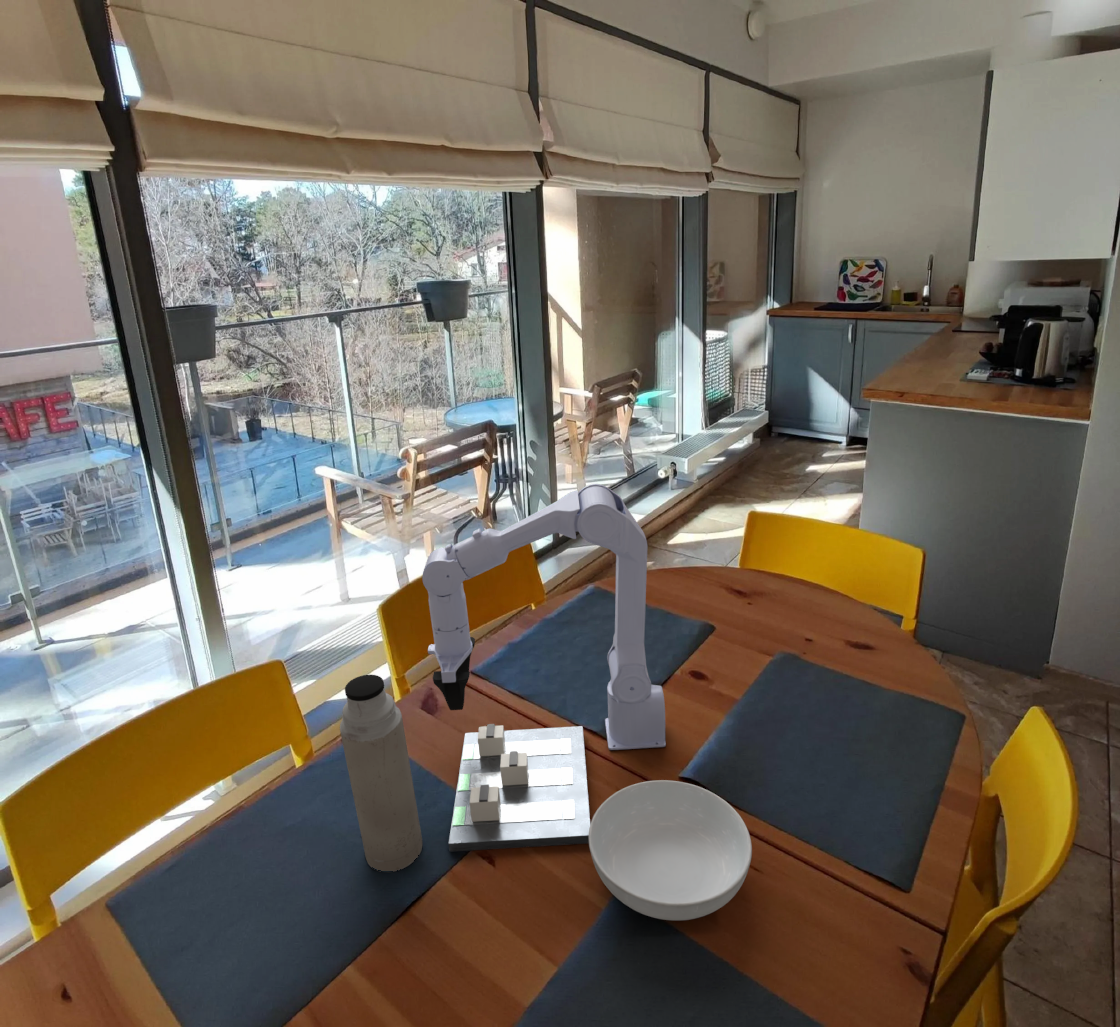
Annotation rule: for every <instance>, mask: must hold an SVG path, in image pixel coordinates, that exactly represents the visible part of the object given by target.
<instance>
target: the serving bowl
mask: <svg viewBox="0 0 1120 1027" xmlns="http://www.w3.org/2000/svg"><path fill="white" fill-rule="evenodd" d="M588 847H589V851H590V855H591V860H592V863H593V866H594V868H595V870H596V872H597V874H598V876H599V878H600V879H601V882H602V883H603V884H604V886H606V888H607V889H608V890H609V892H610V893H611V894H612V895H613V896H614V897H615V898H616V899H617V900H619V902H621V903H622V904H624V905H625V906H627V908H628V907H629V908H630V909H632V910H633V911H635V912H637V913H639V914H642V915H644V916H648V917H649V918H650V917H651V918H654V919H658V920H664V921H665V920H666V921H689V920H690V921H691V920H695V919H700V918H702V917H705V916H708V915H710V914H712V913H714V912H716V911H718V910H720V908H721V909H722V908H723V907H724V906H725V905H726V904H728V903H729V902H730V901H731V900H732V899H733V898H734V897H735V896H736V895H737V893H738V891H740V889H741V887H742V886H743V883H744V882H745V879H746V877H747V875H748V872H749V869H750V865H751V861H752V855H753V846H752V840H751V835H750V832H749V830H748V828H747V825H746V823H745V822H744V820H743V818H742V817H741V815H740V814H739V812H738V811H736V809H735V807H733V806H732V805H731V804H730V803H728V802H727V801H726V800H725V799H723V798H722V797H720V796H718V795H717V793H716V794H715V793H714V792H712V791H710V790H708V789H707V788H706V789H705V788H703V787H702V786H698V785H695V784H692V783H688V782H683V781H678V780H677V781H676V780H669V779H668V780H667V779H665V780H664V779H661V780H660V779H659V780H647V781H643V782H642V781H641V782H638V783H635V784H631V785H628V786H626V787H624V788H621V789H620V790H618V791H616V792H614V793H613V794H611V795H610V796H609V797H608V798H606V799H605V800H604V801H603V802H602V803H601V805H599V807H598V808H597V810H596V811H595V813H594V814H593V816H592V819H591V820H590V828H589V843H588Z"/></svg>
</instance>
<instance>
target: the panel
mask: <svg viewBox="0 0 1120 1027" xmlns="http://www.w3.org/2000/svg"><path fill="white" fill-rule="evenodd" d="M583 727H584V726H582V725H578V726H562V727H561V726H559V727H545V728H544V727H543V728H530V729H529V728H527V729H512V730H510V729H509V730H504V736H505V752H504V754H510V751H518V753H527V759H528V770H529V771H528V784H521V785H504V786H502V780H501V771H500V763H501V755H494V756H480V755H479V747H478V732H476V731H475V732H464V739H463V746H462V753H461V759H460V765H459V766H460V767H459V771H458V772H459V774H458V779H457V785H456V793H455V799H454V806H453V812H452V818H451V826H450V831H449V832H450V833H449V837H448V850H449V852H466V851H467V852H470V851H484V850H497V849H498V850H500V849H502V850H503V849H515V848H516V849H517V848H533V847H534V848H536V847H549V846H550V847H553V846H570V845H582V844H583V845H586V844H589V828H590V824H591V819H590V815H591V814H590V805H589V804H590V802H589V792H588V780H587V779H588V778H587V777H588V776H587V764H586V755H585V754H586V752H585V739H584V728H583ZM481 785H489V787H493V786H499V794H500V803H501V808H500V820H493V821H476V822H472V818H471V810H470V795H471V788H476V787H481Z"/></svg>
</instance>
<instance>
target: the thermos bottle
mask: <svg viewBox="0 0 1120 1027" xmlns="http://www.w3.org/2000/svg"><path fill="white" fill-rule="evenodd" d="M344 692H345V696H346V703H345V704H344V706H343V708H342V717H341V718H342V719H341V721H340V723H339V724H340V725H339V733H340V737H341V742H342V746H343V751H344V757H345V762H346V766H347V767H346V768H347V770H348V775H349V776H348V777H349V781H350V786H351V791H352V796H353V802H354V807H355V810H356V811H355V812H356V816H357V821H358V826H359V831H360V835H361V840H362V845H363V850H364V856H365V859H366V861H367V864H368V865H369V867H371V868H372V867H373V868H375V869H377V870H376V871H378V870H381V871H393V872H397V870H398V871H401V870H403V869H404V868H407V867H409V866H410V865H412V863H413V864H414V862H415V861H416V860H417V859H418V857H419V856H420V854H421V852H422V848H423V837H422V830H421V826H420V820H419V819H420V818H419V813H418V805H417V800H416V795H415V794H416V793H415V788H414V782H413V774H412V770H411V764H410V757H409V756H410V755H409V751H408V744H407V740H406V733H405V726H404V722H403V721H404V720H403V715H402V711H401V710H400V708H399V707H398V706H397V705H396V702H395V701H394V698H393V696H392V695H390V694H389V693H387V692H386V690H385V683H384V679H383V678H382V677H381V676H380V675H377V674H364V675H361V676H357V677H354V678H353V679H351V680H350V681H348V682H347V683H346V685H345V687H344ZM418 855H419V856H418ZM416 858H417V859H416ZM415 859H416V860H415ZM414 860H415V861H414ZM373 868H372V869H373ZM375 869H374V870H375ZM400 869H401V870H400ZM381 871H380V872H381Z"/></svg>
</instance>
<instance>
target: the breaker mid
mask: <svg viewBox="0 0 1120 1027" xmlns="http://www.w3.org/2000/svg"><path fill="white" fill-rule="evenodd" d="M500 771H501V780H502V786H504V785H521V784H528V771H529V770H528V759H527V753H518V751H510V754H501V763H500Z"/></svg>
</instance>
